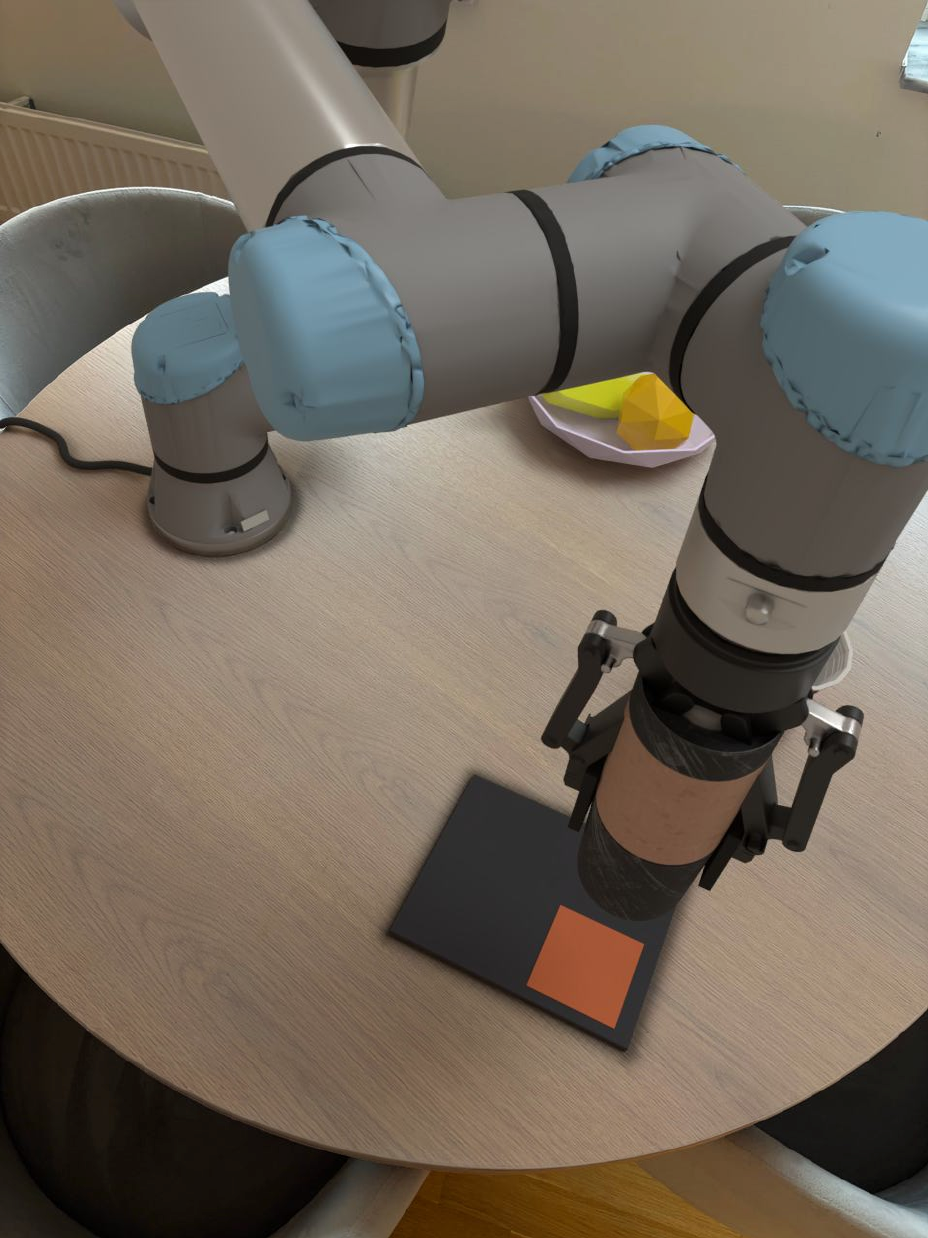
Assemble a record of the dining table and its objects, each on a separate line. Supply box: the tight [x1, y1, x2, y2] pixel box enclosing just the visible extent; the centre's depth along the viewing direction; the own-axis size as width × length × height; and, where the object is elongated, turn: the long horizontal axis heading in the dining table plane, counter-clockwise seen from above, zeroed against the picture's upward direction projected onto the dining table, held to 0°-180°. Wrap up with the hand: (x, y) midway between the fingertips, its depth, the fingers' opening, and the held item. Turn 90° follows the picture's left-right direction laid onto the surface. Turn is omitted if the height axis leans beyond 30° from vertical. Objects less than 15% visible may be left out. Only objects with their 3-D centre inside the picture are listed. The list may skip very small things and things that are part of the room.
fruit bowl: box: [527, 372, 716, 469], centre depth 115 cm, size 28×27×11 cm
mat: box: [389, 773, 677, 1052], centre depth 78 cm, size 20×16×1 cm
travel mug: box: [577, 671, 786, 921], centre depth 54 cm, size 8×8×20 cm
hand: (644, 840), depth 58 cm, fingers closed on travel mug, 8 cm apart
